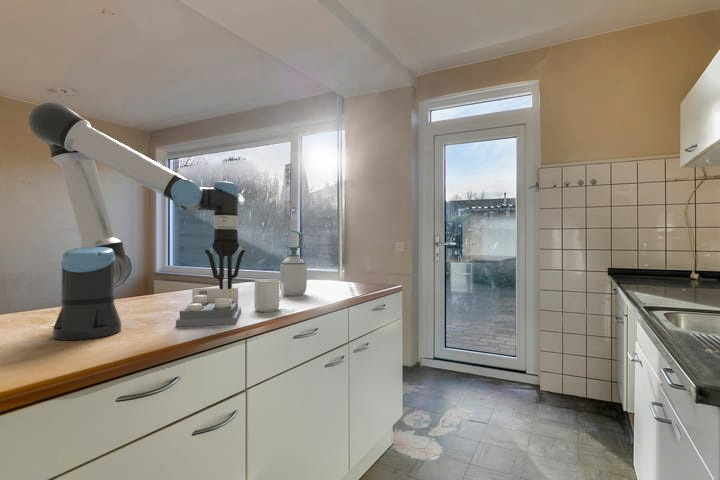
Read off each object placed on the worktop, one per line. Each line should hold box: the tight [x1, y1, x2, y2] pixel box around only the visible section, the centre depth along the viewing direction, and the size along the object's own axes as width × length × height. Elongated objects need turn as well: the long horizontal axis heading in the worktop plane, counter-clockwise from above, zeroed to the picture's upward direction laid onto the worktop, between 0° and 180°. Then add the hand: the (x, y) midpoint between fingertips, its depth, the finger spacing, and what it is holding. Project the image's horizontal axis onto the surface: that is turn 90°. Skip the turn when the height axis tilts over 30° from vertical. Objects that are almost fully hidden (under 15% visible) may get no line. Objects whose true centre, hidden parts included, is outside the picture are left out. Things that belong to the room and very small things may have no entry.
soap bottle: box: [279, 228, 308, 297], centre depth 176 cm, size 12×12×31 cm
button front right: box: [215, 298, 229, 309], centre depth 117 cm, size 4×4×3 cm
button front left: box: [186, 303, 202, 310], centre depth 116 cm, size 4×4×3 cm
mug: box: [253, 278, 284, 313], centre depth 139 cm, size 12×9×11 cm
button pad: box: [175, 287, 242, 327], centre depth 122 cm, size 17×18×9 cm
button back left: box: [193, 295, 207, 306], centre depth 124 cm, size 4×4×3 cm
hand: (225, 299), depth 125 cm, fingers closed
